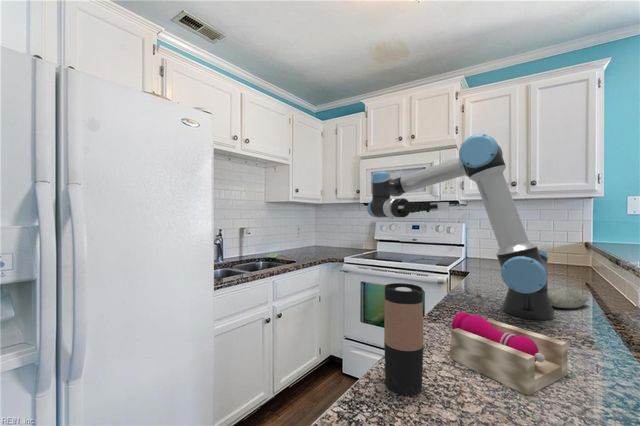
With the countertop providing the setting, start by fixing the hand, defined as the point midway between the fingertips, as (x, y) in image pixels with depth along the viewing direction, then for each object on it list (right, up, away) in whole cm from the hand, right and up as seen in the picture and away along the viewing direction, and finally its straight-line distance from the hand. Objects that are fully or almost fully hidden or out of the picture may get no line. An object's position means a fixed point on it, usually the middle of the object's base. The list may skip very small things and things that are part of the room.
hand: (447, 206), depth 100 cm
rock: (+52, -39, +17) cm, 67 cm away
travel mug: (-25, -38, -39) cm, 60 cm away
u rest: (0, -38, -31) cm, 49 cm away
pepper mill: (-6, -31, -20) cm, 38 cm away
